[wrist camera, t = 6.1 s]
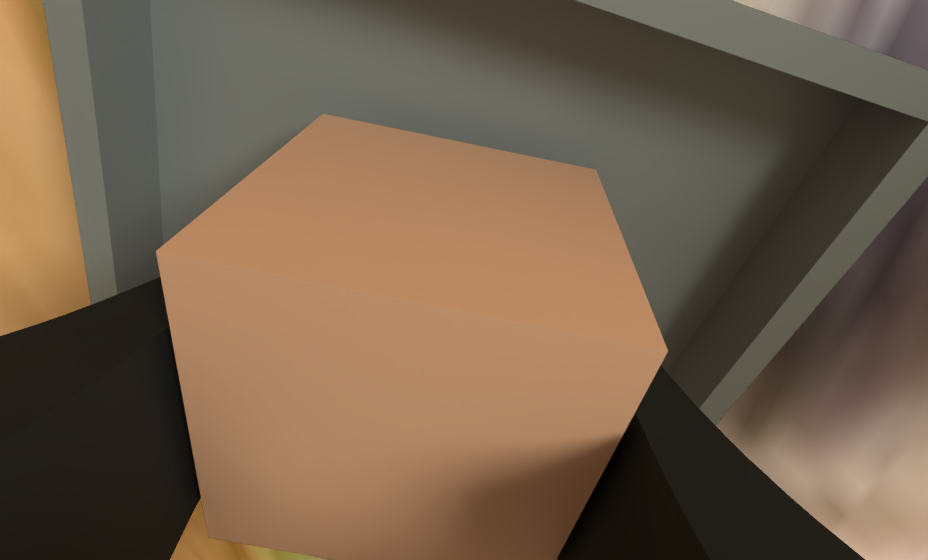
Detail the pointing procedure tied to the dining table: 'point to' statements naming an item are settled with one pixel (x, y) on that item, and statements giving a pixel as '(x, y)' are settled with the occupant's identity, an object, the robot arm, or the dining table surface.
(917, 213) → the dining table surface
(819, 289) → the tray
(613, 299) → the terracotta block
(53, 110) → the dining table surface
